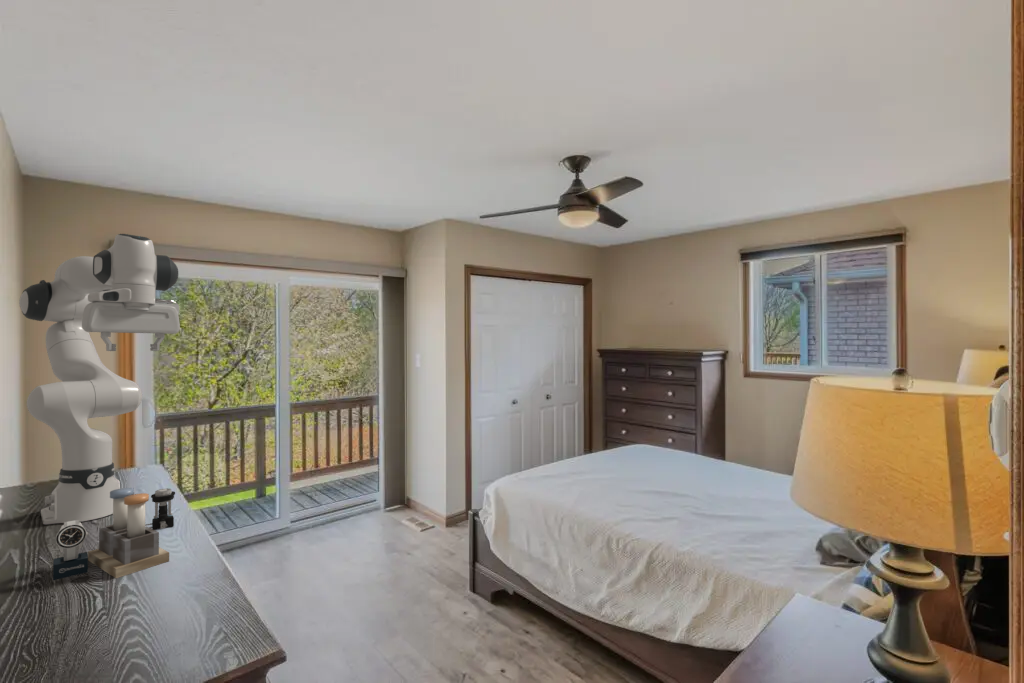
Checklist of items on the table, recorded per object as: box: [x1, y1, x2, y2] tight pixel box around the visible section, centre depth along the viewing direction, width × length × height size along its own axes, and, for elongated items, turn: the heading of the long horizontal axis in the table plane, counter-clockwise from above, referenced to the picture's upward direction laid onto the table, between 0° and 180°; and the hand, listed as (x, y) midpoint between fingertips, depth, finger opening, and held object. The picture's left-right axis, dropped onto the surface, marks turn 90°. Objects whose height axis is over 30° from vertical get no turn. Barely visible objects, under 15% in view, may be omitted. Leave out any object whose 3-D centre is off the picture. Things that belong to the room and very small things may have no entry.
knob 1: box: [110, 487, 135, 531], centre depth 115 cm, size 4×4×9 cm
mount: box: [87, 524, 170, 579], centre depth 112 cm, size 16×10×7 cm, turn 57°
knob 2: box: [124, 492, 150, 539], centre depth 110 cm, size 4×4×9 cm
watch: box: [52, 520, 90, 581], centre depth 106 cm, size 6×8×11 cm
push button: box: [145, 488, 176, 531], centre depth 133 cm, size 7×5×10 cm
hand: (133, 350), depth 126 cm, fingers open, 8 cm apart
